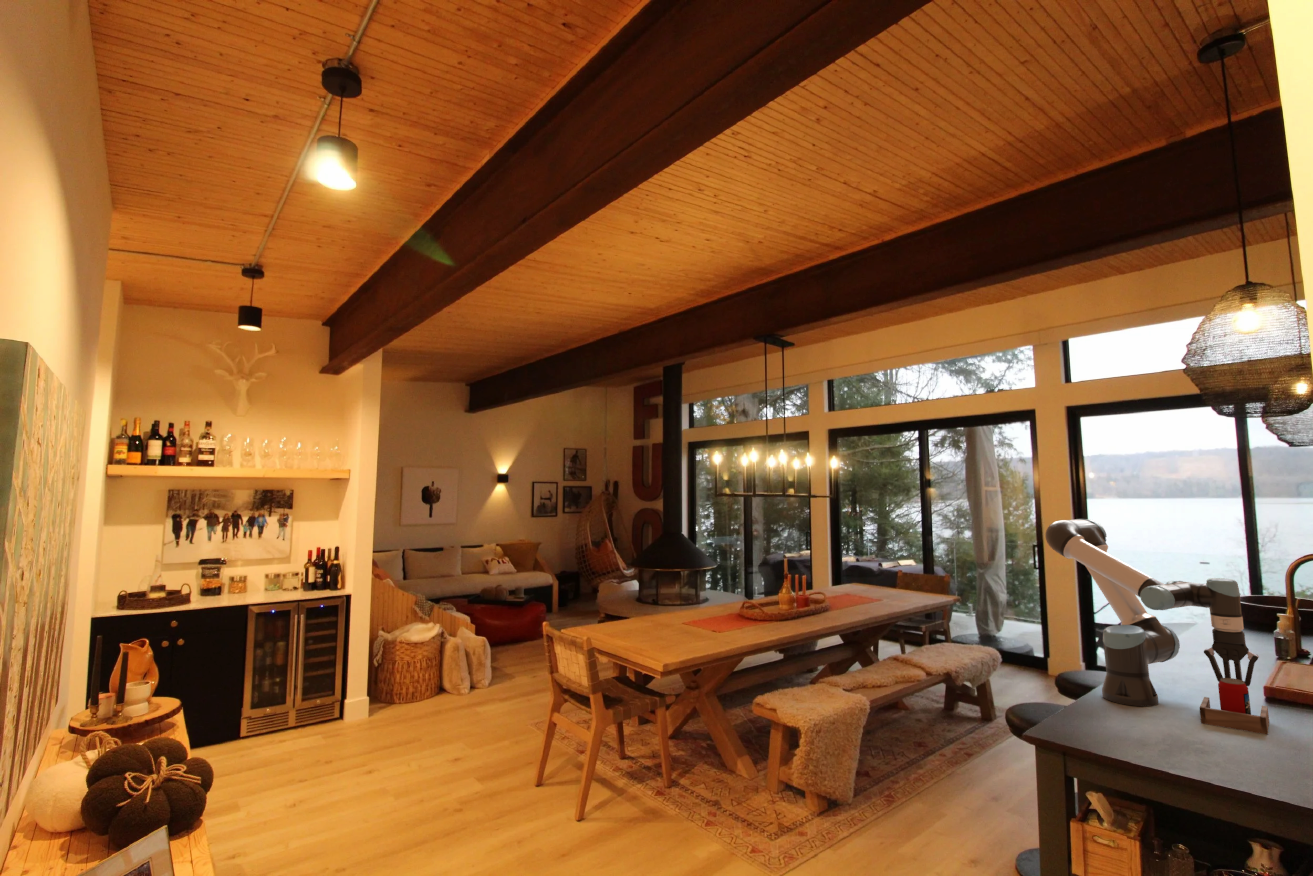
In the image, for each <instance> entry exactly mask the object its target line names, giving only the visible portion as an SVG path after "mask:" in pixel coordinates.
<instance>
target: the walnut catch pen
mask: <svg viewBox="0 0 1313 876" xmlns="http://www.w3.org/2000/svg"><path fill="white" fill-rule="evenodd" d="M1199 715H1200V724H1203V725H1210V726H1216V727H1220V728H1227V729H1232V730H1237V731H1238V730H1239V731H1244V732H1249V733H1256V734H1263V735H1269V728H1270V727H1269V726H1270V716H1269V707H1268V705H1261V709H1260V715H1255V714H1251V715H1250V714H1243V713H1237V712H1231V711H1225V710H1221V709H1219V708H1211V702H1210V697H1207V696H1204V697H1203V699H1202V700H1201V704H1200V706H1199Z"/></svg>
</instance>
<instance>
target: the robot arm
mask: <svg viewBox="0 0 1313 876" xmlns="http://www.w3.org/2000/svg"><path fill="white" fill-rule="evenodd" d="M1044 535H1045V541H1046V543H1047V544H1048V546H1049V547H1050V548H1051V549H1052V550H1053V551H1055V552H1056V553H1058V554H1059V555H1060V556H1063V557H1064V558H1066V559H1069V560H1071V559H1074V560H1075V561H1077V562H1079V563H1080V564H1081V565H1083V566H1085V568H1086V570H1087V571H1088V572H1089V574H1090V576H1091V577H1092V579H1093V580H1094V582H1095V583H1096V585H1097V586H1098V588H1099V590H1100V591H1101V593H1102V595H1103V597H1104V598H1106V601H1107V602H1108V604H1109V606H1110V607H1111V609H1112V610H1113V612H1114V613H1115V615H1116V616H1117V618H1118V619H1119V621H1120V623H1121V624H1120V625H1118V624H1115V625H1114V624H1113V625H1110V626H1107V627H1105V628H1104V629H1103V631H1102V643H1103V651H1104V661H1105V663H1104V664H1105V670H1106V671H1105V672H1106V674H1105V677H1104V681H1103V684H1102V687H1101V694H1102V697H1103V698H1104V699H1105V700H1107V701H1110V702H1113V703H1116V704H1120V705H1126V706H1132V707H1133V706H1134V707H1153V706H1157V705H1159V703H1160V702H1159V696H1158V693H1157V691H1156V689H1155V687H1154V685H1153V683H1152V681H1151V678H1150V672H1149V665H1150V664H1151V665H1152V664H1157V663H1165V662H1166V661H1170V660H1172V659H1174V658H1176V656H1177V655H1178V654H1179V652H1180V651H1179V650H1180V648H1181V647H1180V644H1181V643H1180V639H1179V637H1178V636H1177V633H1176V632H1175V631H1174V630H1173V629H1171V628H1170V627H1169V626H1166V625H1163V624H1161V622H1160V620H1159V619H1158V617H1156V616H1155V615H1152V614H1150V613H1148V611H1147V610H1146V608H1148V609H1150V610H1153V611H1167V610H1170V609H1171V610H1172V609H1177V608H1178V609H1179V608H1183V607H1198V608H1206V609H1209V614H1210V622H1211V623H1210V624H1211V627H1212V631H1211V632H1212V633H1211V634H1212V639H1213V643H1212V645H1211V647H1209V648H1205V649H1204V650H1203V654H1204V655H1205V656H1206V658H1207V659H1208V660H1209V663H1210V665H1211V668H1212V670H1213V673H1214V675H1215V677H1216V680H1217V682H1218V683H1219V682H1220V680H1221V678H1232V674H1231V665H1230V661H1233V666H1234V672H1235V679H1239V680H1242V681H1244V683H1245V684H1246V686H1247V687H1250V685H1251V682H1252V677H1253V674H1254V673H1253V672H1254V668H1255V664H1256V662H1257V661H1258V660H1259V658H1260V656H1259V655H1258V654H1256V653H1253V652H1252V651H1250V650H1249V648H1248V646H1247V644H1246V643H1247V642H1246V637H1245V636H1246V635H1245V632H1244V631H1243V630H1244V629H1245V628H1244V618H1243V614H1242V613H1243V612H1242V605H1241V604H1242V603H1241V593H1240V588H1239V583H1238V582H1237V581H1236V580H1235V579H1232V578H1225V577H1223V578H1221V577H1212V578H1211V577H1210V578H1207V580H1206V583H1200V582H1192V581H1191V582H1190V581H1183V580H1169V581H1167V582H1166V583H1165V584H1164V583H1163V582H1161V581H1159V580H1157V579H1155V578H1154V577H1152V576H1150V575H1148V574H1146V573H1144V572H1143V571H1141V570H1139V569H1137V568H1136V567H1134V566H1131V565H1130V564H1128V563H1126V562H1124V561H1122V560H1121V559H1119V558H1117V557H1115V556H1113V555H1112V554H1110V553H1109V552H1108V549H1109V546H1108V544H1107V533H1106V530H1105V528H1104V527H1103V526H1102V525H1101V523H1099V522H1097V521H1096V520H1093V519H1089V518H1088V519H1087V518H1076V519H1060V520H1056V521H1053V522H1052V523H1051V524H1049V525H1048V526H1047V528H1046V531H1045V534H1044ZM1139 598H1140V599H1139ZM1141 602H1142V603H1141ZM1144 606H1145V607H1144ZM1215 653H1216V654H1217V655H1218V656H1219V657H1220V658H1221V659H1222V663H1223V664H1222V665H1223V673H1224V674H1223V673H1222V672H1221V669H1220V667H1219V664H1218V661H1217V659H1216V657H1215ZM1246 656H1247V660H1249V661H1248V664H1247V669H1246V674H1245V679H1244V680H1243V674H1242V673H1243V672H1242V665H1241V661H1242V660H1243V659H1244V658H1245V657H1246ZM1223 675H1224V677H1223Z"/></svg>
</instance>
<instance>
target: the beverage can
mask: <svg viewBox="0 0 1313 876" xmlns="http://www.w3.org/2000/svg"><path fill="white" fill-rule="evenodd" d="M1244 681H1245V680H1243V679H1242V680H1239V679H1236V678H1232V677H1231V678H1225V677H1223V678H1221V680H1220V682H1218V683H1217V684H1218V686H1217V687H1218V697H1219V698H1218V699H1219V705H1220V710H1225V711H1231V712H1237V713H1243V714H1250V715H1252V712H1251V711H1252V710H1251V703H1250V702H1251V701H1250V694H1249V688H1248V687H1249V686H1246V684H1245V683H1244Z"/></svg>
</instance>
